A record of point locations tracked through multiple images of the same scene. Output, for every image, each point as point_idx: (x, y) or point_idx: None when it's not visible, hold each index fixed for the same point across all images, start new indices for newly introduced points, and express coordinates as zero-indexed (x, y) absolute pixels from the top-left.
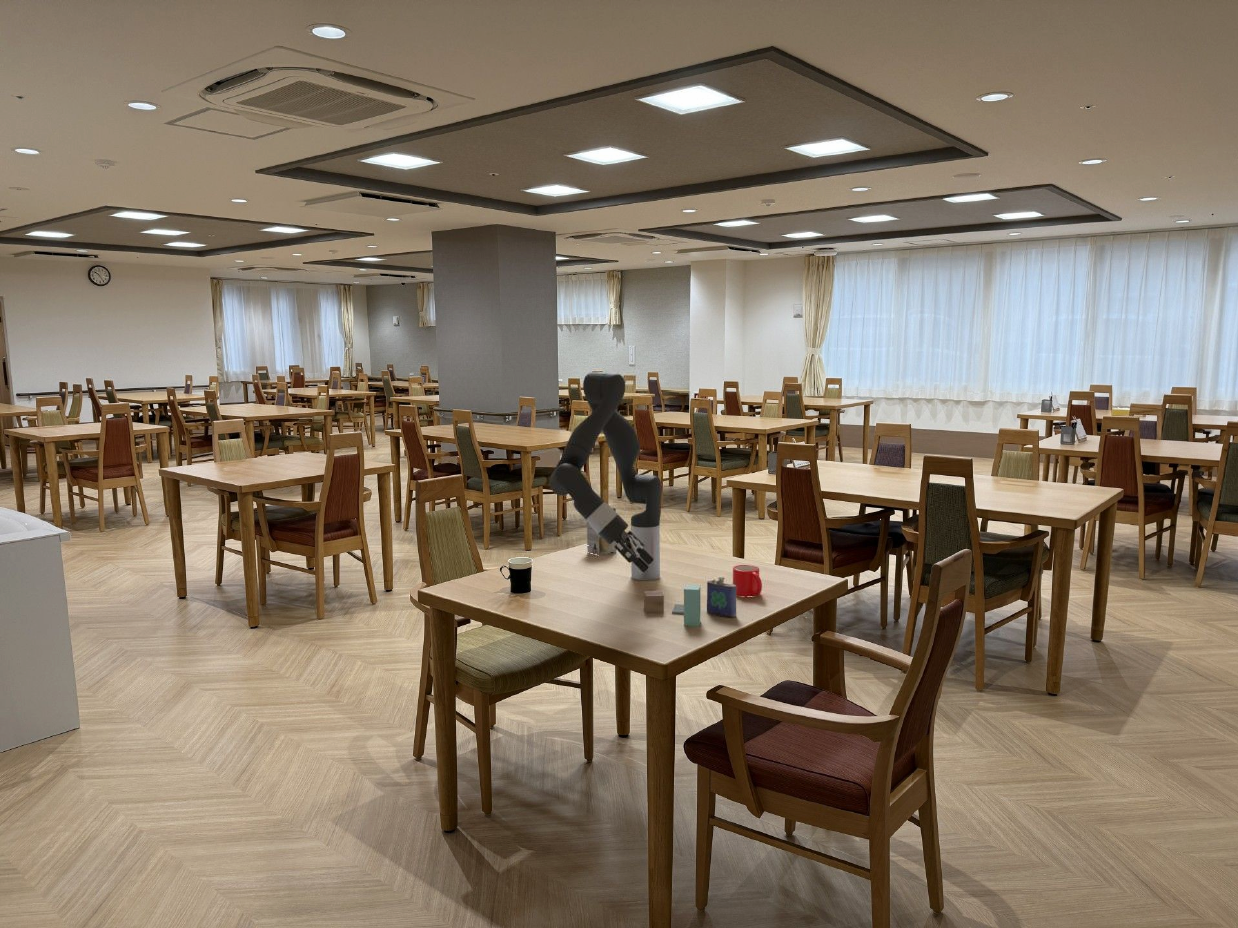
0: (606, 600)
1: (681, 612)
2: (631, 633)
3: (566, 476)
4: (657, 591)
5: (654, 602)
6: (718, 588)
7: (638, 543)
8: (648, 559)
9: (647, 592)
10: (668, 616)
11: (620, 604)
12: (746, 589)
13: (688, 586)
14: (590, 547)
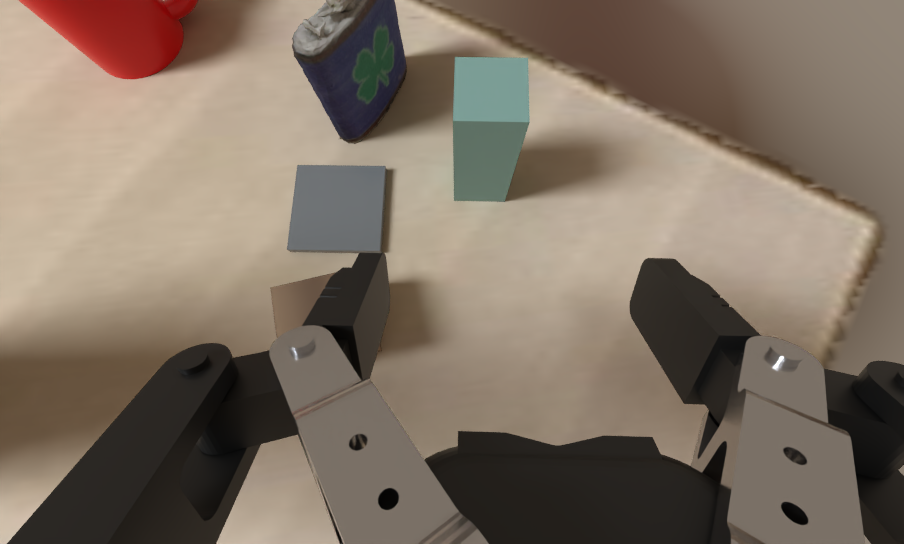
0: None
1: (382, 218)
2: (627, 370)
3: None
4: (285, 304)
5: None
6: (366, 26)
7: (391, 414)
8: (381, 297)
9: None
10: (413, 262)
11: (271, 479)
12: (162, 15)
13: (475, 106)
14: None
